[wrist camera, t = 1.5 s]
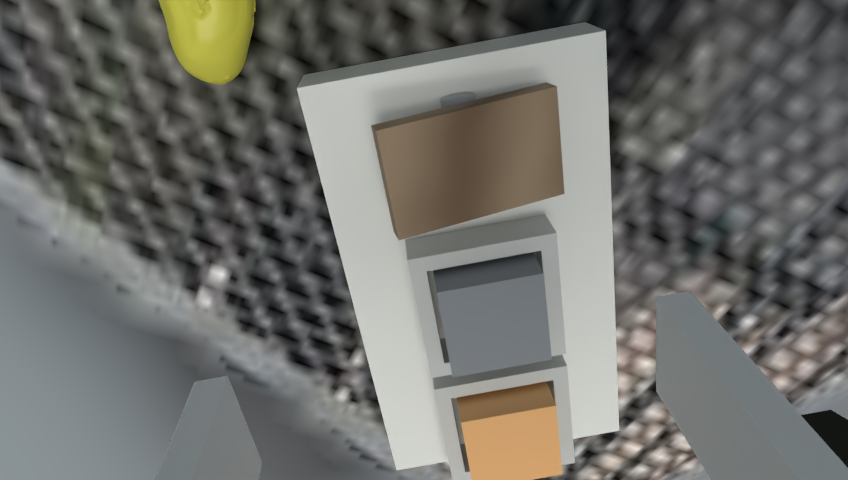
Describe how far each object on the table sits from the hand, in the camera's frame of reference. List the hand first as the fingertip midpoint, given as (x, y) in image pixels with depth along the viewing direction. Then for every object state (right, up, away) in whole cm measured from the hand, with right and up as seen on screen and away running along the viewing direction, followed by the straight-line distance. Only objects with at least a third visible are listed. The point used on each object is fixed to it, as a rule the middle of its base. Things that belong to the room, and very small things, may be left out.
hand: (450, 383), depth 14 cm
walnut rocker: (+1, +7, +13) cm, 15 cm away
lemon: (-10, +15, +14) cm, 23 cm away
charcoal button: (+3, 0, +17) cm, 17 cm away
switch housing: (+2, +2, +21) cm, 21 cm away
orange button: (+4, -7, +21) cm, 22 cm away
